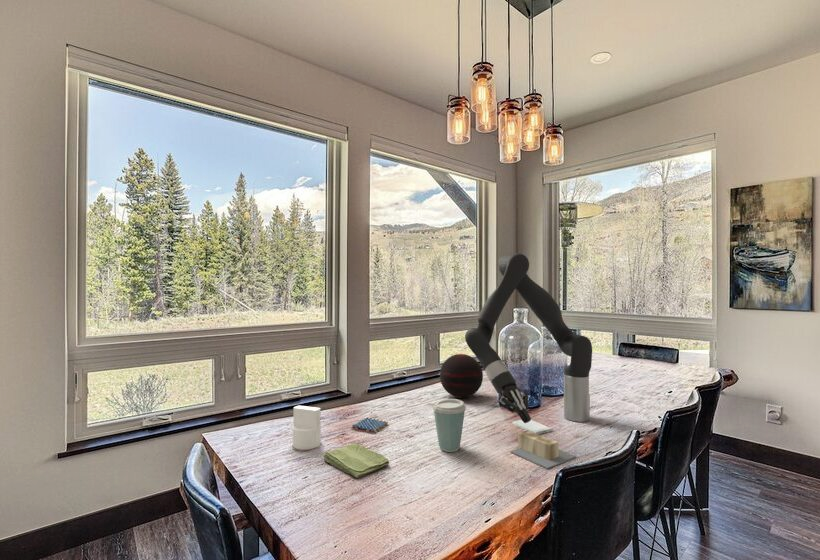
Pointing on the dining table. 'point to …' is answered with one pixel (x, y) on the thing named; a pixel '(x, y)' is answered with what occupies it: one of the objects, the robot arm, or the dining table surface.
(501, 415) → the dining table surface
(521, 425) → the hard drive
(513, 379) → the robot arm
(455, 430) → the disposable coffee cup
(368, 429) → the woven mat
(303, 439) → the white lidded canister
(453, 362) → the decorative orb
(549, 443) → the maple block
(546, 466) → the felt mat
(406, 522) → the dining table surface
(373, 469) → the washcloth
